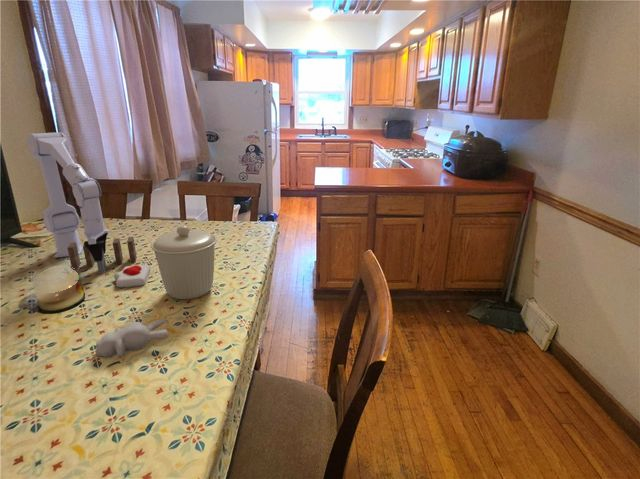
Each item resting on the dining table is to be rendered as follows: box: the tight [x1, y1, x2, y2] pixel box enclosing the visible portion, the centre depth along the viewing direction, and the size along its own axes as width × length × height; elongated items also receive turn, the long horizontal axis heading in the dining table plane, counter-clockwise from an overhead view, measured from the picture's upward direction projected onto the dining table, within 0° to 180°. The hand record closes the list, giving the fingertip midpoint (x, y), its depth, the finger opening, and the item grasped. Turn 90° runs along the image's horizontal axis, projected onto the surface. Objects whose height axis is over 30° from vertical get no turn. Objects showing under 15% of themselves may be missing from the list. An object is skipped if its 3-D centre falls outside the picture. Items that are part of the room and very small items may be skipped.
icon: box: [113, 264, 151, 288], centre depth 123 cm, size 12×4×10 cm
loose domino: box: [96, 251, 108, 275], centre depth 127 cm, size 2×5×8 cm, turn 21°
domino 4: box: [126, 236, 137, 264], centre depth 136 cm, size 2×5×8 cm, turn 20°
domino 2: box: [82, 244, 96, 269], centre depth 132 cm, size 2×5×8 cm, turn 21°
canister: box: [150, 224, 218, 301], centre depth 112 cm, size 18×18×21 cm
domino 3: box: [112, 237, 124, 265], centre depth 135 cm, size 2×5×8 cm, turn 20°
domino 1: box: [67, 242, 81, 270], centre depth 130 cm, size 2×5×8 cm, turn 21°
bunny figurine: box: [95, 318, 169, 358], centre depth 90 cm, size 10×5×15 cm
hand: (100, 257), depth 127 cm, fingers open, 6 cm apart
